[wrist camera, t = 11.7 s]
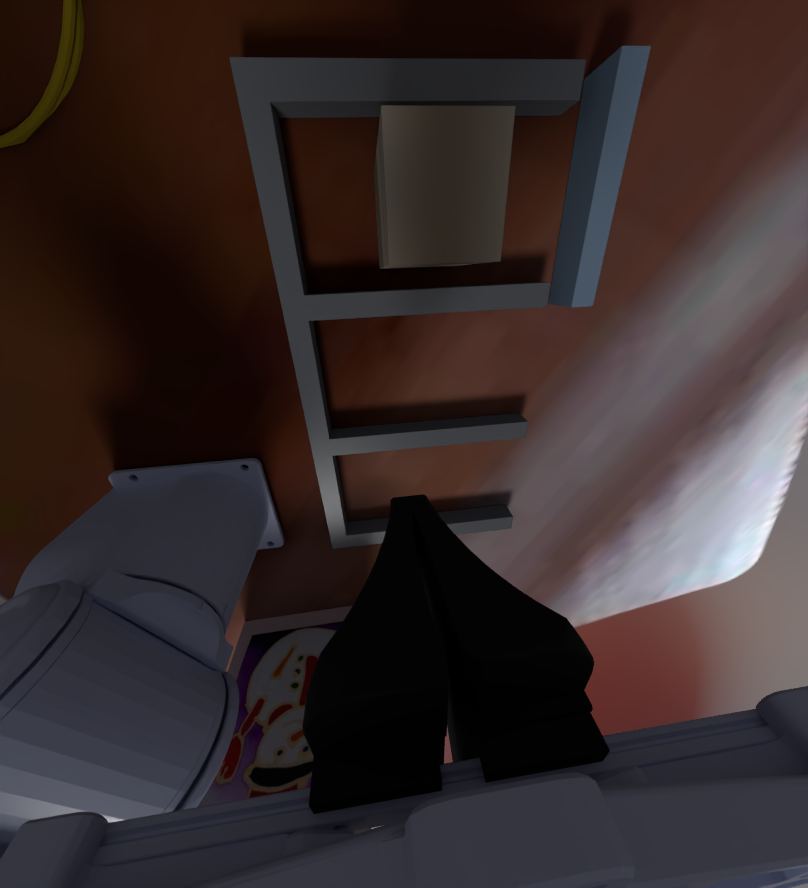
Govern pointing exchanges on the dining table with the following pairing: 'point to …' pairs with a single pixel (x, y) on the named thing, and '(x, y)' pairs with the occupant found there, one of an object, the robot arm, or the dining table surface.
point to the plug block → (442, 184)
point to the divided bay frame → (573, 285)
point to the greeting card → (273, 705)
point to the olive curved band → (55, 74)
